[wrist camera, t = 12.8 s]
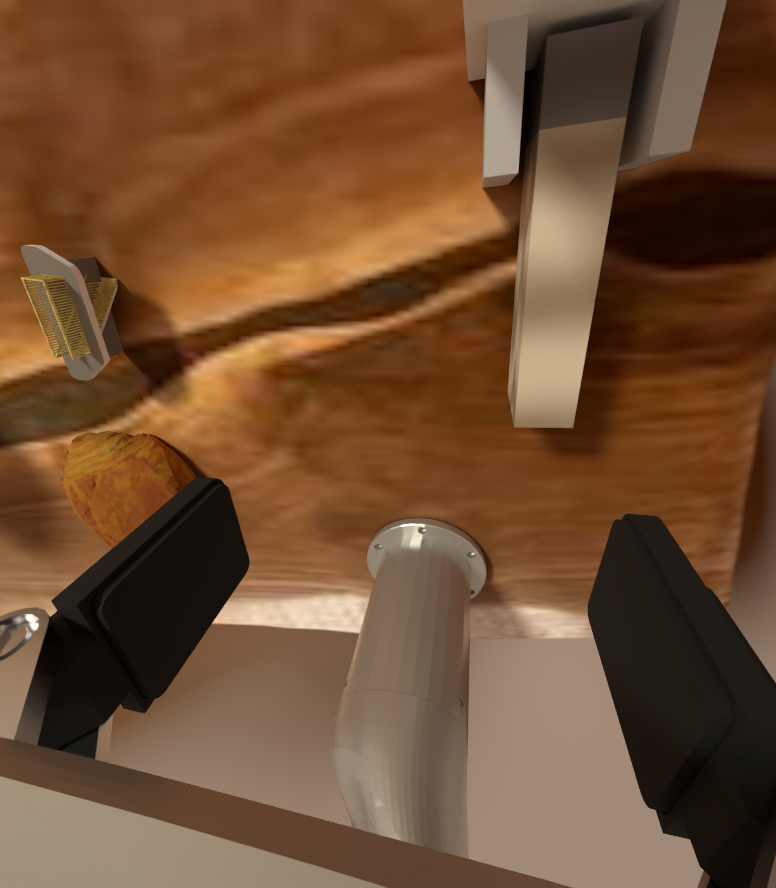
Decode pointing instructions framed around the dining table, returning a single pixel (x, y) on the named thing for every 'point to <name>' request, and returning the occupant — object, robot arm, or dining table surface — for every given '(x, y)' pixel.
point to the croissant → (120, 481)
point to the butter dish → (74, 309)
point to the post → (654, 84)
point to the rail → (566, 212)
